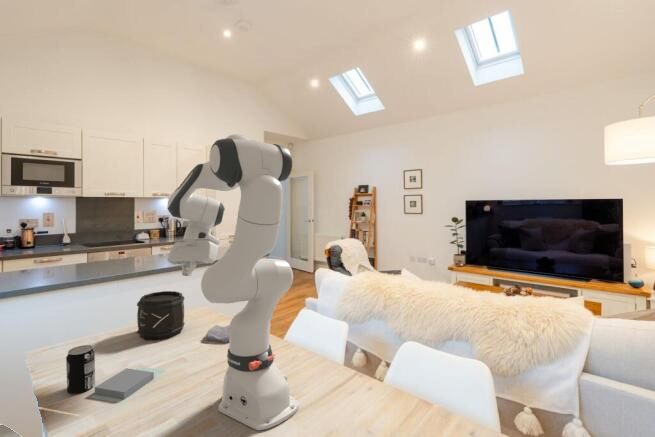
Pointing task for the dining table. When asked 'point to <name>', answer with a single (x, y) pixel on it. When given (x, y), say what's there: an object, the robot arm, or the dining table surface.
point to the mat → (156, 374)
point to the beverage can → (80, 369)
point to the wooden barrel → (160, 315)
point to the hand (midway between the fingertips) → (186, 275)
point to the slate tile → (124, 383)
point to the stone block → (218, 334)
